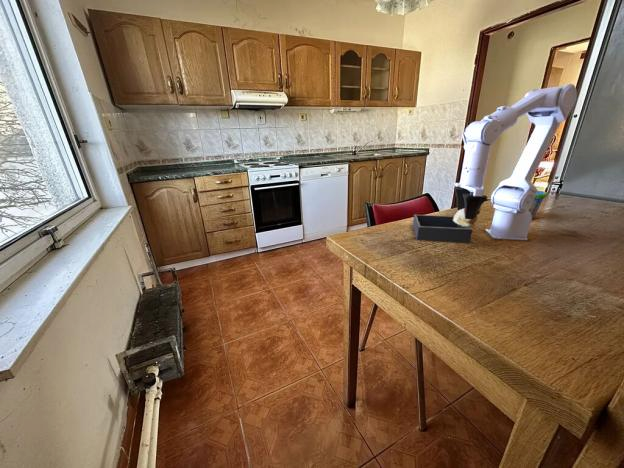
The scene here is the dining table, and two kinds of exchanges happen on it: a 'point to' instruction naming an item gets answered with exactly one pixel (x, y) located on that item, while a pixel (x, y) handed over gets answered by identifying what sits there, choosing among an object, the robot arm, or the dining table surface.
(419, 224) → the bin
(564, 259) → the dining table surface
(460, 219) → the chocolate bunny
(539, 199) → the snack cup
